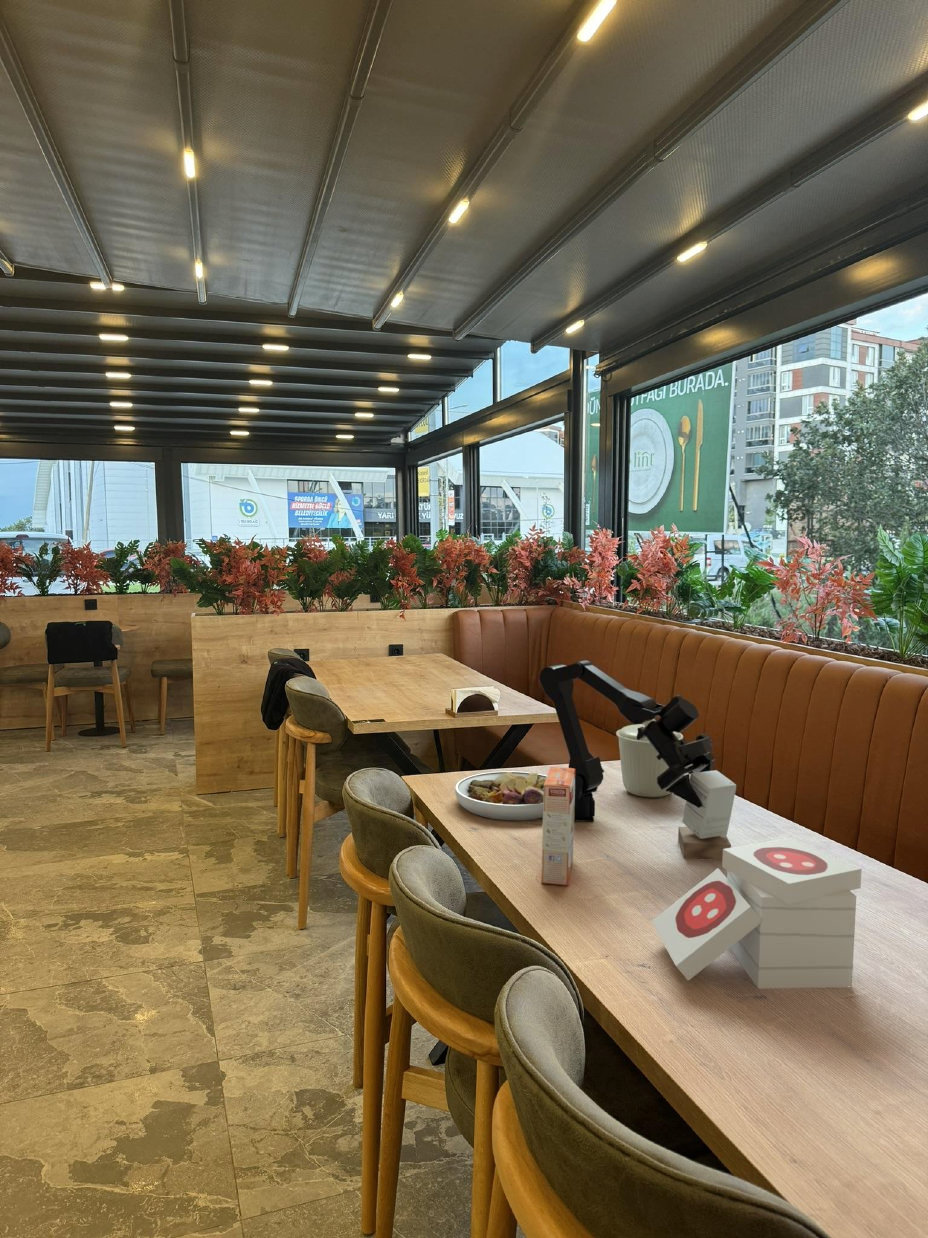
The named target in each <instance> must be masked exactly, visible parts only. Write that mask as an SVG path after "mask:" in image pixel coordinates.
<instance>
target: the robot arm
mask: <svg viewBox="0 0 928 1238" xmlns="http://www.w3.org/2000/svg"><path fill="white" fill-rule="evenodd" d="M577 679H579V680H581V681H582V682H583V683H585V684H587V686H589V687H590V688H591V689H593V690H595V691H596V692H598V693H599V694H601V696H603V697H604V698H606V699H607V700H608V701H610V702H612V703H613V704H614V705H615V706H616V708H617V710H618V711H619V713H620V714H621V716H622V717H624V718H625V719H626V720H627V721H628V722H629V723H630V724H631V725H637V724H643V723H644V722H647V721H651V720H653V719H657V718H659V719H658V720H656V721H651V722H650V723H649V724H648V725H647V726H645V727H640V728H638V733H637V740H640V739H643V738H645V737H646V738H647V739H648V741H649V742H650V743H651V745H652V746H653V747H654V749H655V750H656V751H657V753H658V754H659V755H658V756H656V757H657V759H658V760H661V759H663V761H664V762H665V763H666V765H667V766H668V767H669V768H668V769H667V770H666V771H664V772H663V773H662V774H661V775H659V776H658V777H657V784H658V786H659V787H660V788H661V790H663V789H665V788H667V787H669V788H667V789H666V791H667V792H668V791H669V792H670V794H673V795H675V796H677V797H679V798H681V799H683V800H684V801H685V802H686V801H688V802H689V803H691V804H693V805H695V806H696V807H698V808H700V807H701V806H702V803H701V801H700V799H699V797H698V796H697V794H696V792H695V791H694V789H693V788H692V786H691V784H690V774H691V773H697V772H706V771H714V769H713V768H714V765H716V764H715V760H716V758H715V756H714V755H713V754H712V752H713V751H714V750H713V747H712V745H713V743H714V740H713V739H711V738H710V736H708V735H707V734H706V733H702V734H699V735H697V736H696V737H695V740H694V741H690V742H687V741H686V740H685V739H684V738H683V739H681V740H679V739H678V738H677V737H676V735H675V734H674V733H673V732H677V733H681V732H683V731H684V730H686V729H687V728H688V727H689V726H690V725H692V724H693V723H694V722H695V721H696V720H697V719H698V718H699V716H700V714H699V710H698V709H697V708H696V706H695V705H694V704H693V703H691V701H689V700H687V699H685V698H683V697H682V695H680V694H677V695H675V696H673V698H671V699H670V701H669V702H668V703H667V704H666V705H664V704H660V703H658V702H657V701H656V700H655V699H653V698H652V697H650V696H648V695H646V694H643V693H641V692H638V691H634V690H631V689H629V688H627V687H625V686H624V685H622V684H621V683H620V682H617V680H615V679H614V678H612V677H611V676H609V675H607V673H605V672H603V671H602V670H600V668H598V667H596V666H594V665H593V663H592V662H591V661H588V660H581V661H576V662H574V663H572V664H569V665H565V664H557V665H551V666H545V667H544V668H542V670H540V673H539V674H538V680H539V683H540V686H541V688H542V690H543V692H544V694H545V695H546V696H547V697H548V698H549V700H550V701H551V702H552V703H553V706H554V709H555V712H556V715H557V720H558V722H559V726H560V728H561V732H562V736H563V738H564V742H565V745H566V749H567V752H568V755H569V762H568V767H567V768H574V769H575V807H574V822H594V821H595V819H594V817H595V815H596V800H595V799H594V797H593V793H595V792H597V790H598V787H599V786H600V785H601V784H602V782H603V781H604V773H605V770H604V768H603V766H602V763H601V758H600V757H599V756H595V757H594V756H593V755H592V753H590V751H589V749H588V745H587V741H586V739H585V735H584V733H583V729H582V725H581V723H580V719H579V716H578V712H577V709H576V706H575V701H574V700H573V692H574V685H575V684H574V680H577Z"/></svg>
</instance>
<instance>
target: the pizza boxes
mask: <svg viewBox="0 0 928 1238" xmlns="http://www.w3.org/2000/svg"><path fill="white" fill-rule="evenodd" d="M721 864H722V865H721V867H722V868H723V869H725V870H726V873H727V875H725V874H724V873H723V872H722V870H721V869H719V867H718V868H716V869H715V870H713V871H712V872H711V873H710V874H709V875H707V876H706V877H705V878H703V880H702V879H701V881H700V882H699V883H697V884H696V885H695V886H694V887H692V888H691V889H689V890H688V891H687V892H686V893H685V894H684V895H682V896H681V897H680V898H679V899H677V900H676V901H675V902H673V903H672V904H671V905H669V906H668V907H667V908H666V909H665V910H664V911H662V912H661V913H660V914H658V915H657V916H656V917H655V918H654V919H652V920H651V924H652V925H653V927H654V929H655V931H656V933H657V934H658V936H659V938H660V940H661V942H662V943H663V945H664V946H665V949H666V951H667V953H668V954H669V956H670V958H671V960H672V961H673V964H674V965H675V967H676V968H677V969H678V970H679V971H680V972H681V974H682V975H683V976H684V978H685V979H686V980H687V981H690V980H691V979H693V977H695V976H696V975H698V974H699V973H700V972H701V971H703V970H704V969H705V968H707V966H709V965H710V964H711V963H712V962H714V961H715V960H717V958H719V957H720V956H721V955H723V954H724V953H725V952H726V951H728V950H729V949H730V951H731V952H732V954H733V955H734V956H735V958H736V959H737V960H738V962H739V964H740V965H741V966H742V968H743V969H744V971H745V972H746V973H747V975H748V976H749V978H750V979H751V981H752V982H753V984H755V986H756V987H757V989H759V990H760V989H761V990H762V989H806V988H807V989H814V988H816V989H823V988H824V989H825V988H826V989H827V988H828V987H829V989H830V988H832V989H833V988H836V987H837V988H852V987H853V972H854V971H853V969H854V955H855V954H854V950H855V949H854V948H855V931H856V928H855V927H856V909H857V895H856V894H855V893H853V892H852V891H853V890H857V889H861V886H862V885H861V884H862V868H861V867H859V866H856V865H854V864H852V863H850V862H847V861H845V860H843V859H841V858H840V857H839V858H838V857H837V856H834V855H831V853H830V854H829V853H827V852H826V851H823V850H821V849H819V848H816V847H815V846H812V845H810V844H808V843H805V842H803V841H801V840H799V839H797V838H794V837H792V836H790V837H784V838H776V839H772V840H766V841H761V842H755V843H750V844H743V845H738V846H733V847H732V846H731V848H726V849H723V860H722V863H721ZM848 986H850V987H848ZM851 986H852V987H851Z"/></svg>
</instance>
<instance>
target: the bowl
mask: <svg viewBox="0 0 928 1238" xmlns="http://www.w3.org/2000/svg"><path fill="white" fill-rule="evenodd" d="M546 777H547V775H546V774H541V773H538V772H526V771H516V770H515V771H510V770H509V771H507V770H505V771H504V770H503V771H491V772H490V771H489V772H484V773H477V774H473V775H469V776H467V777H465V778H464V777H463V779H461V780H459V781H458V782H457V783H456V784H455V788H454V789H455V790H454V791H455V792H454V793H455V796H456V799H457V801H458V803H459V804H460V805H461V806H462V807H463V808H464V809H465V810H466V811H468V812H470V813H472V814H475V815H476V816H480V817H483V818H488V819H493V820H501V821H529V820H530V821H531V820H538V819H541V818H542V819H543V792H544V783H545V780H546Z"/></svg>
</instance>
